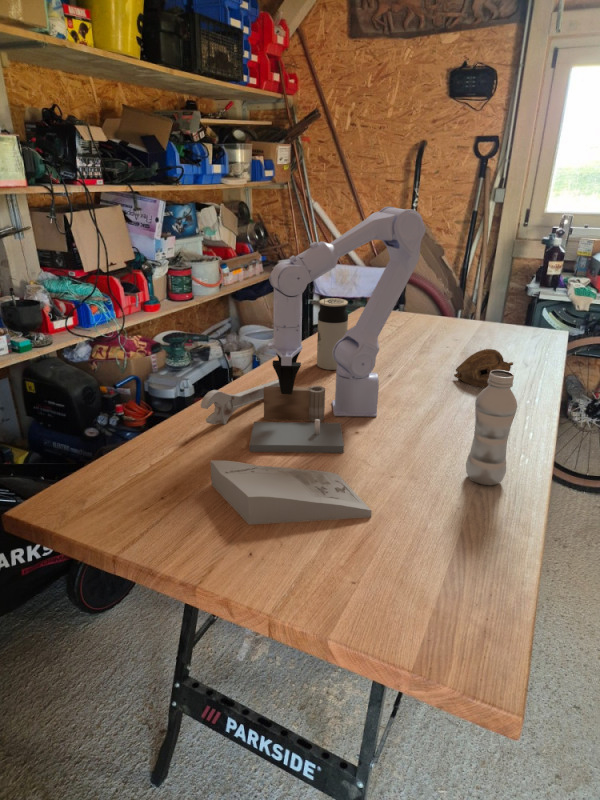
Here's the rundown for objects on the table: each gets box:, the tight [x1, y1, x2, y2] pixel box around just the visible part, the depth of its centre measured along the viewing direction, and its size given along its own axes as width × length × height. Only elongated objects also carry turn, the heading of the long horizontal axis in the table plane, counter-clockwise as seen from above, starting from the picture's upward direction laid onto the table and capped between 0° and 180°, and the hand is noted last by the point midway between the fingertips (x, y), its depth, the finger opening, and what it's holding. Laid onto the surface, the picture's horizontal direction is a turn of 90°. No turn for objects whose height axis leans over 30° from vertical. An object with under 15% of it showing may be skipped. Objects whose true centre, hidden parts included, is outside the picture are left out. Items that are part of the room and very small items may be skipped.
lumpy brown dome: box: [453, 348, 514, 389], centre depth 141 cm, size 10×24×15 cm
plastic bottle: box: [465, 370, 518, 486], centre depth 89 cm, size 6×7×20 cm
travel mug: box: [316, 297, 349, 371], centre depth 143 cm, size 8×8×18 cm
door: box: [263, 385, 326, 423], centre depth 114 cm, size 13×4×7 cm, turn 90°
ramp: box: [210, 459, 372, 526], centre depth 86 cm, size 28×16×5 cm, turn 74°
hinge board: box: [249, 419, 345, 454], centre depth 105 cm, size 18×10×4 cm, turn 90°
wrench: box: [200, 378, 280, 425], centre depth 119 cm, size 8×2×30 cm
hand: (287, 386), depth 112 cm, fingers open, 7 cm apart
